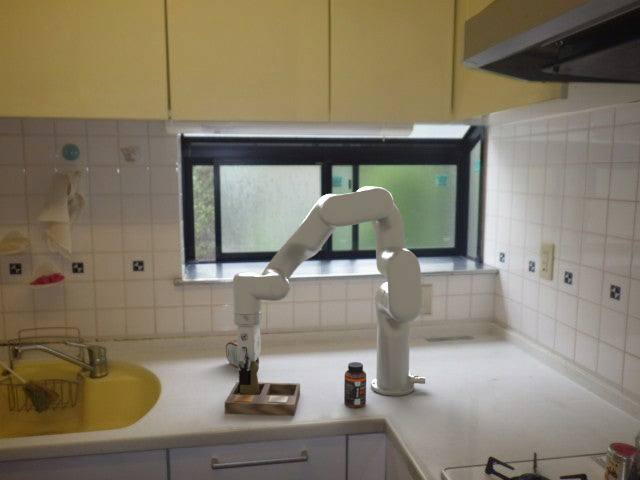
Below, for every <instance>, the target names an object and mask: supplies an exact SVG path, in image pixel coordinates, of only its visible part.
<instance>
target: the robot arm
mask: <svg viewBox="0 0 640 480" xmlns="http://www.w3.org/2000/svg"><path fill="white" fill-rule="evenodd" d="M392 195H393V194H391V192H390V191H388V190H387V189H385V188H383V187H379V186H370V185H369V186H362V187H361V188H359V189H357V190H356V191H354V192H349V193H347V192H346V193H341V194H336V193H335V194H334V193H328V194H327V193H326V194H325V195H322V196H321V197H320V198H319V199H318V200H317V201H316V203H315V204H314V205H313V207H312V208H311V209H310V210H309V212H308V213H307V215H306V216H305V217H304V219H303V221H302V222H301V223H300V225H299V226H298V227H297V228H296V230H295V231H294V232H293V234H292V235H291V236H290V237H289V238H288V239H287V240H286V242H285V243H284V244H283V245H282V247H280V248H279V250H278V251H277V252H276V254H275V255H273V257H272V258H271V260H270V261H269V263H268V264H267V265H266V267H264V268H265V269H264V270H263V271H262V273H261V274H259V273H257V272H253V271H250V272H249V271H248V272H238V273H236V274H235V275H234V276H233V277H232V278H233V281H232V286H233V287H232V288H233V289H232V291H233V294H232V295H233V324H234V325H235V326H237V328H236V329H237V331H236V334H237V335H236V340H237V357H238V361H239V362H240V364H239V368H238V382H239V384H240V385H251V370H250V363H251V361H253V362H255V361H256V362H257V363H258V357H259V356H260V355H261V351H262V346H261V345H262V341H261V328H260V325H261V324H262V323H263V322H262V301H268V302H269V301H270V302H279V301H283V300H284V299H286V298H287V297H288V295H289V294H290V291H291V284H290V282H289V279H290V278H291V277H292V275H293V274H294V273H295V271H297V269H298V267H300V265H302V264H303V263H304V262H305V261H307V260H308V259H310V258H312V257H315V255H317V254H318V253H319V252H320V251H321V249H322V248H323V246H324V244H325V243H326V242H327V241H328V239H329V238H330V236H331V235H332V234H333V232H334V231H335V230H336V229H337V228H343V227H349V226H353V225H354V226H355V225H359V224H363V223H368V222H369V223H371V224H372V227H373V231H374V232H373V233H374V239H375V260H376V268H377V271H378V272H379V273H380V274H381V275H382V276H384V277H385V278H386V281H385V282H383V283H382V284H381V285H380V286H379V287H378V289H377V290H376V293H375V298H374V299H375V301H374V302H375V303H374V304H375V312H376V376H375V378H374V379H372V380H371V382H370V387H371V389H372V390H373V391H375V392H376V393H378V394H381V395H384V396H393V397H394V396H395V397H396V396H398V397H399V396H405V395H408V394H411V393H413V391H414V390H415V384H419V385H425V384H426V377H425V376H422V377H421V375H420V374H412V373H411V372H410V347H411V346H410V339H411V324H410V323H411V322H414V321H415V320H416V319H417V318H419V315H420V313H421V312H422V306H423V290H422V285H423V284H422V270H421V265H420V262H419V259H418V258H417V256H416V255H415V253H414V252H412V251H411V250H409V249H408V248H407V245H406V235H405V234H406V232H405V225H404V220H403V217H402V214H401V212H400V210H399V208H398V207H397V205H396V204H395V203H394V197H393V196H392ZM245 358H246V359H245ZM246 363H248V365H247V364H246Z"/></svg>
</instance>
